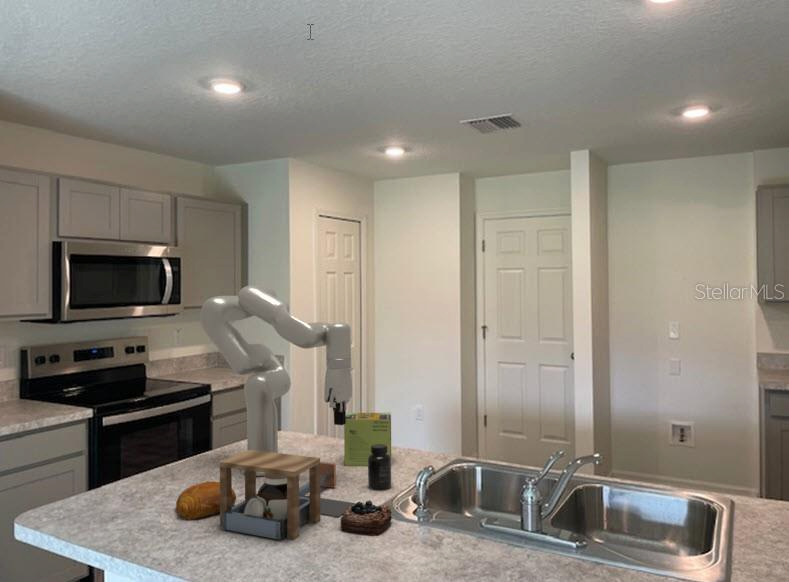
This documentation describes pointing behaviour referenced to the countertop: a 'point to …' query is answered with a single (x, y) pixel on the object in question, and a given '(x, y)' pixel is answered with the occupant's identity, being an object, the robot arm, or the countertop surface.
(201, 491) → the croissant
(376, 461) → the supplement bottle
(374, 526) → the pastry
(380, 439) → the protein box
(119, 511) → the countertop surface
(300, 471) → the walnut table
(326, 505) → the pit mat
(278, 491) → the spread jar
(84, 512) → the countertop surface
